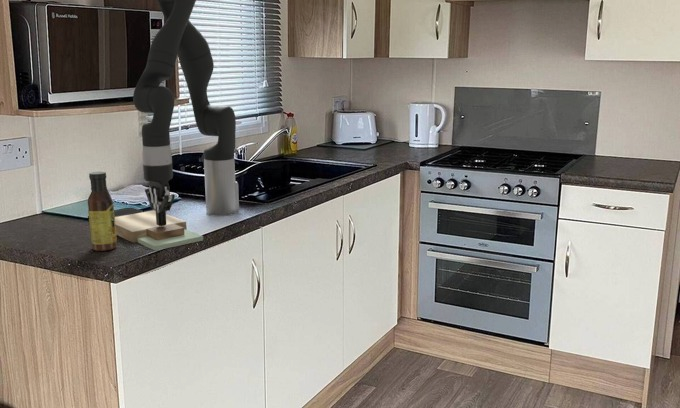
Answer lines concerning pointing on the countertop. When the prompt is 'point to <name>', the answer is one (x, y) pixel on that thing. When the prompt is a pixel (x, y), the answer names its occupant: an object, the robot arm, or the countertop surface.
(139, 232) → the butcher block
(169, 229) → the brown wooden block
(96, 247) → the sauce bottle
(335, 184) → the countertop surface
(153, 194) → the robot arm
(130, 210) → the phone
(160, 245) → the sage mat
